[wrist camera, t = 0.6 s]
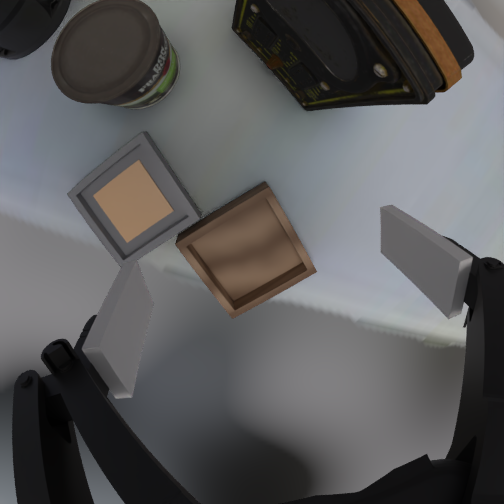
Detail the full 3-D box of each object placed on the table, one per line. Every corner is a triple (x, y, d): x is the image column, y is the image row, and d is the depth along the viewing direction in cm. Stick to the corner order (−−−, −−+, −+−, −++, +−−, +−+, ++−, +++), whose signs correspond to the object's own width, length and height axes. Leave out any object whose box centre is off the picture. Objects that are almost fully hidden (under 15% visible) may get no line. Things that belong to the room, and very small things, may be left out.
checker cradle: (74, 189, 36) (66, 193, 34) (146, 131, 34) (142, 132, 32) (127, 262, 41) (122, 269, 39) (201, 213, 39) (200, 219, 37)
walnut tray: (178, 234, 40) (175, 244, 37) (265, 181, 39) (269, 186, 35) (231, 305, 46) (232, 318, 42) (310, 260, 44) (317, 271, 41)
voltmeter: (222, 30, 30) (233, -89, 7) (274, -3, 28) (342, -117, 6) (302, 118, 36) (424, 120, 13) (349, 83, 34) (493, 61, 11)
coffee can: (191, 42, 30) (177, 1, 17) (165, 116, 34) (137, 112, 21) (117, 31, 28) (74, -5, 15) (93, 102, 32) (37, 97, 19)
